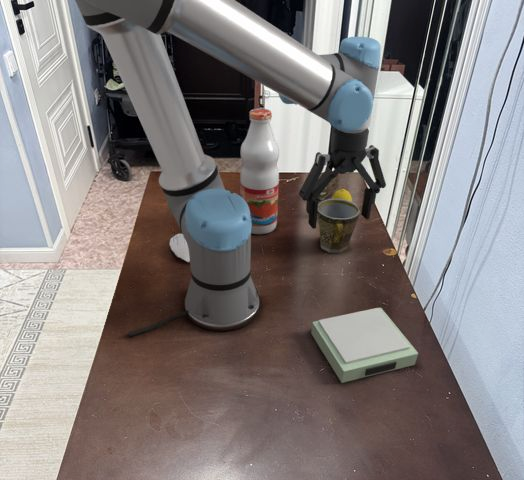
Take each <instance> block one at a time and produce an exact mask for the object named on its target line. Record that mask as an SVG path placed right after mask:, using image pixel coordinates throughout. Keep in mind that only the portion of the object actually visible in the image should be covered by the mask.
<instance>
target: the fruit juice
mask: <svg viewBox="0 0 524 480" xmlns="http://www.w3.org/2000/svg"><path fill="white" fill-rule="evenodd" d="M272 115H273V113H272V110H270V109H268V108H263V107H261V108H260V107H259V108H253V109H251V110H250V111H249V115H248V117H249V121H250V123H249V128H248V131H247V134H246V136H245V138H244V140H243V142H242V143H241V146H240V160H241V163H242V165H241V167H240V172H239V196H240V197H242V198H243V199H244V200H245V201H246V203H247V205H248V207H249V210H250V216H251V223H252V228H251V235H252V234H253V235H265V234H269V233H271V232H274V230H275V229H276V228H277V225H278V211H279V207H278V206H279V187H280V186H279V185H280V171H279V167H278V162H279V159H280V146H279V143H278V142H277V140H276V138H275V135H274V132H273V128H272V124H271V121H272V117H273V116H272Z"/></svg>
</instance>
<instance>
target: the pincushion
mask: <svg viewBox="0 0 524 480" xmlns="http://www.w3.org/2000/svg"><path fill="white" fill-rule="evenodd" d="M171 233H172V234H173V235H172V237H171V238H170V239H169V247H170V249H171V251H172V252H173V253H174V255H175V256H176V257H177V258H180V259H181V260H184V261H185V262H187V263H190V257H189V249H188V245H187V242H186V240H185V238H184V236H183V234H182V232H181V230H179V233H177V234H175V231H174V230H171Z"/></svg>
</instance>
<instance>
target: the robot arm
mask: <svg viewBox="0 0 524 480" xmlns="http://www.w3.org/2000/svg"><path fill="white" fill-rule="evenodd" d="M74 1H75V3H76V5H77V7H78V10H79V12H80V15H81V16H82V18H83V20H84V23H85V25H86V27H87V28H89V29H90V30H93V31H95V32H97V33H99V34H100V35H101V36H102V39H103V40H104V43H105V45H106V48H107V50H108V52H109V54H110V57H111V58H112V61H113V63H114V66H115V68H116V70H117V72H118V74H119V78H120V79H121V82H122V83H123V86H124V88H125V91H126V93H127V95H128V98H129V99H130V102H131V104H132V106H133V109H134V111H135V113H136V115H137V117H138V119H139V122H140V124H141V126H142V128H143V131H144V133H145V136H146V138H147V140H148V142H149V144H150V147H151V149H152V152H153V154H154V156H155V158H156V161H157V162H158V165H159V167H160V170H161V172H160V174H159V177H158V184H159V186H160V189H161V190H162V193H163V195H164V197H165V200H166V203H167V206H168V209H169V210H170V213H171V215H172V216H173V217H174V220H175V222H176V223H177V225H178V227H179V231H181V234H183V236H184V238H185V240H186V242H187V245H188V249H189V257H190V262H189V266H190V274H191V275H190V276H191V278H190V282H189V285H188V288H187V292H186V295H185V299H184V307H185V308H184V309H185V310H184V311H182V312H179V313H177V314H173V315H172V316H169V317H167V318H164V319H162V320H160V321H157V322H156V323H153V324H150V325H148V326H145V327H142V328H139V329H136V330H133V331H129V332H127V334H128V336H129V337H133V336H137V335H140V334H143V333H146V332H149V331H152V330H154V329H156V328H159V327H161V326H164V325H166V324H169V323H171V322H173V321H175V320H177V319H181V318H182V317H185V316H186V317H187V318H188V320H189V321H190V322H191V323H193V325H196V326H197V327H199V328H202V329H204V330H207V331H213V332H230V331H234V330H235V331H236V330H239V329H241V328H243V327H246V326H248V325H249V324H250V323H252V322H253V321H254V320H255V319H256V318H257V316H258V314H259V311H260V296H259V295H261V289H260V285H259V284H257V289H258V292H257V289H256V286H255V283H254V281H253V279H252V276H251V267H252V266H251V265H252V264H251V260H252V259H251V258H252V257H251V255H252V252H251V251H252V233H251V228H252V223H251V216H250V210H249V207H248V205H247V203H246V201H245V200H244V199H243V198H242V197H240V194H238V193H235V192H233V193H231V191H230V190H227V189H226V188H225V186H224V183H223V180H222V177H221V174H220V171H219V169H218V168H219V167H218V166H217V164H216V160H215V159H214V158H213V157H212V156H210V155H207V154H205V153H204V151H203V147H202V145H201V142H200V139H199V137H198V133H197V130H196V129H195V126H194V123H193V120H192V118H191V115H190V112H189V109H188V107H187V104H186V101H185V97H184V95H183V92H182V90H181V87H180V84H179V81H178V79H177V76H176V74H175V71H174V68H173V65H172V63H171V60H170V57H169V55H168V52H167V49H166V46H165V44H164V41H163V40H164V39H163V38H162V34H163V33H165V32H168V33H169V34H170V35H173V36H175V37H176V38H178V39H180V40H182V41H183V42H185V43H186V44H187V43H188V44H189V45H190V46H193V47H195V49H198V50H199V51H202V52H204V53H205V54H207V55H209V56H210V57H213V58H214V59H216V60H217V61H219V62H221V63H223V64H225V65H226V66H228V67H231V68H232V69H234V70H236V71H237V72H239V73H241V74H242V75H245V76H246V77H248V78H250V79H252V80H254V81H255V82H256V83H259V84H261V85H263V86H264V87H266V88H267V89H270V91H271V90H272V91H273V92H276V94H278V96H279V99H280V100H281V102H282V103H283V104H286V105H295V106H297V105H299V106H300V107H302V108H303V109H305V110H307V112H309V113H312V114H314V115H315V116H317V117H319V118H320V119H323V120H324V121H326V122H327V123H329V125H330V126H331V127H332V128H331V136H330V150H329V152H328V153H321V152H320V151H318V152H316V153H315V157H314V162H313V164H312V167H311V169H310V170H309V173H308V174H307V176H306V178H305V180H304V182H303V184H302V185H301V188H300V190H299V192H298V195H299V197H300V198H301V199H302V201H305V202H306V204H305V212H306V213H307V214H308V225H309V226H310V227H311V229H313V230H314V229H317V223H318V216H317V212H318V204H319V200H318V199H317V197H318V196H319V195H320V194H321V193H322V191H323V190H324V189H325V188H326V186H327V185H328V184H329V183H330V182H331V180H332V179H333V178H335V177H336V176H337V175H338V176H339V174H340V175H344V174H347V173H350V174H351V173H355V171H357V173H358V174H359V176H360V177H361V178H362V179H363V181H364V182H365V183H366V185H367V186H368V187H365V189H364V194H363V200H362V205H361V211H360V215H361V216H362V217H363V218H364V219H365V220H370V216H371V212H372V206H373V205H374V204H375V203H376V198H377V194H380V192H381V189H385V188H386V186H387V183H386V180H385V175H384V173H383V169H382V166H381V162H380V159H379V157H380V156H379V155H380V150H379V148H377V147H376V146H374V145H373V144H371V145H369V146H368V139H369V134H370V130H369V128H370V126H371V119H372V112H373V108H374V100H375V93H376V87H377V81H378V75H379V70H380V62H381V43H380V42H379V41H378V40H377V39H375V38H372V37H368V36H349V37H346V38H343V39H342V41H341V42H340V46H339V49H338V52H334V53H327V54H317V53H316V52H314V51H313V50H311V49H310V48H309V47H307V46H306V45H304V44H302V43H301V42H299V41H297V40H296V39H295V38H293V37H291V36H290V35H288V34H287V33H286V32H284V31H282V30H281V29H279V28H278V27H276V26H275V25H273V24H272V23H270V22H268V21H267V20H266V19H264V18H263V17H261V16H260V15H258V14H256V13H255V12H254V11H252V10H251V9H249V8H248V7H246V6H244V5H243V4H241V3H240V2H238V1H237V0H74ZM367 146H368V148H367ZM366 157H367V158H368V161H369V164H370V167H371V171H372V173H373V174H372V175H373V177H374V179H373V178H372V176H371V175H370V174H369V172H368V171H367V169H366V167H365V166H364V165H363V161H364V160H365V159H366ZM328 162H329V163H328ZM327 163H328V164H327ZM325 166H326V167H325ZM324 168H325V169H324ZM374 180H375V181H374Z"/></svg>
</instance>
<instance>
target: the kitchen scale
mask: <svg viewBox="0 0 524 480" xmlns="http://www.w3.org/2000/svg"><path fill="white" fill-rule="evenodd" d="M310 334H311V336H312V337H313V339H314V340H315V343H316V344H317V346H318V347H319V349H320V351H321V352H322V353H323V356H324V357H325V359H326V360H327V362H328V363H329V365H330V366H331V368H332V370H333V372H334V373H335V375H336V376H337V378H338V380H339V381H340V383H341V384H344V383H348V382H351V381H355V380H360V379H364V378H367V377H371V376H376V375H381V374H384V373H388V372H391V371H396V370H399V369H400V370H401V369H404V368H408V367H411V366H415V365H416V362H417V359H418V356H419V352H418V351H417V350H416V349H415V347H414V346H413V344H411V342H410V341H409V340H408V338H407V337H406V336H405V335H404V334H403V333H402V331H401V330H400V329H399V328H398V327H397V325H396V324H395V323H394V321H393V320H392V319H391V318H390V317H389V315H388V314H387V313H386V312H385V310H383V308H382V307H374V308H370V309H365V310H361V311H355V312H350V313H347V314H342V315H337V316H331V317H328V318H327V317H326V318H322V319H318V320H315V321H312V323H311V330H310Z"/></svg>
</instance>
